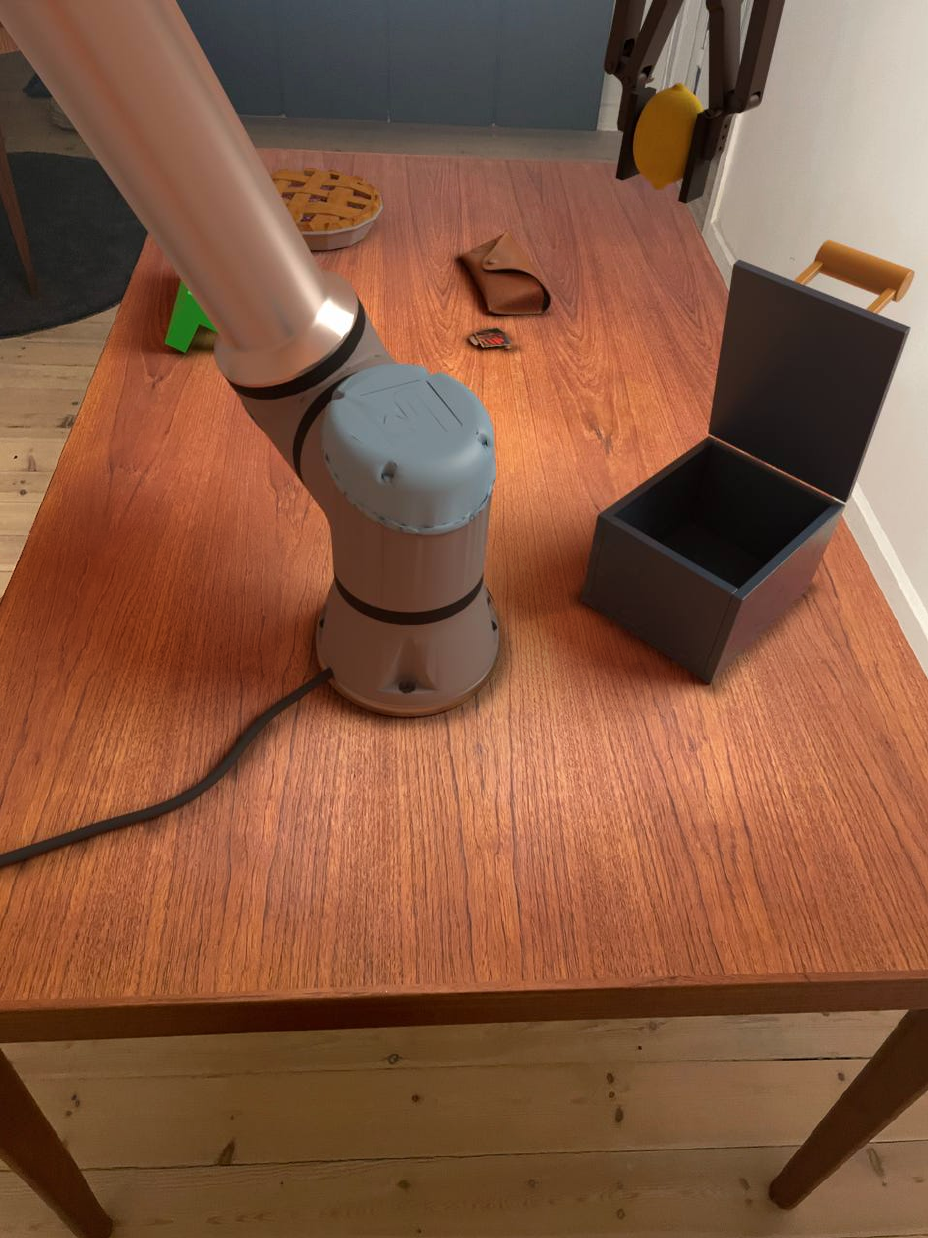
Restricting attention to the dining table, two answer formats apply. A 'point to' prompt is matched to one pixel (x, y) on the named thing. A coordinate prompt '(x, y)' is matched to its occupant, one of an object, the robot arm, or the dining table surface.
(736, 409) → the tin lid
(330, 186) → the pie
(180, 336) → the green corner bracket
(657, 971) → the dining table surface
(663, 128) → the lemon
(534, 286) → the sunglasses case
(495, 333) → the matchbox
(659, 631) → the tin
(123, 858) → the dining table surface
